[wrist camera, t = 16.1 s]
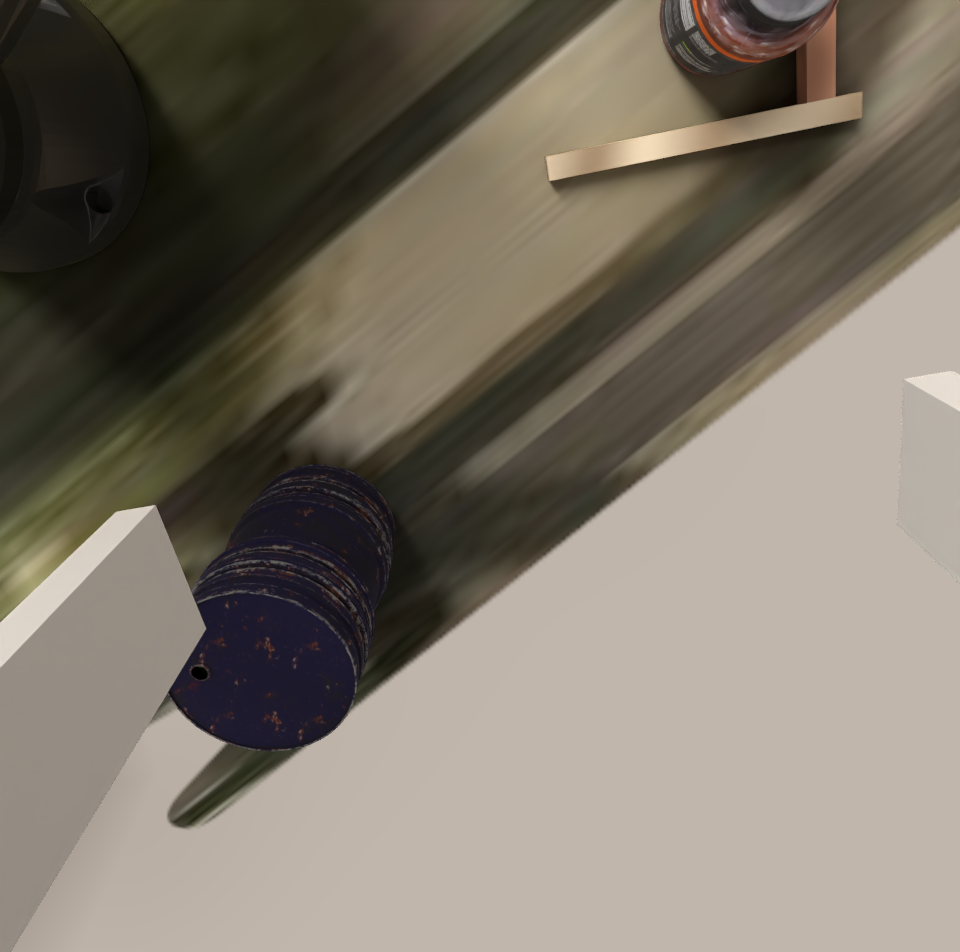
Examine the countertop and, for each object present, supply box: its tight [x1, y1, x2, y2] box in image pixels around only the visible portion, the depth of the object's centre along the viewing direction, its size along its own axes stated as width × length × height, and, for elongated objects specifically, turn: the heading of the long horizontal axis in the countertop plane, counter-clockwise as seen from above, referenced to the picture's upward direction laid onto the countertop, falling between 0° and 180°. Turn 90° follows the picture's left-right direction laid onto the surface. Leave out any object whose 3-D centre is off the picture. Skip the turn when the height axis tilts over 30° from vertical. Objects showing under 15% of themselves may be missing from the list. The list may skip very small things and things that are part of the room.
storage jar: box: [167, 464, 396, 751], centre depth 43 cm, size 10×10×15 cm
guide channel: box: [545, 8, 862, 181], centre depth 36 cm, size 16×12×1 cm
